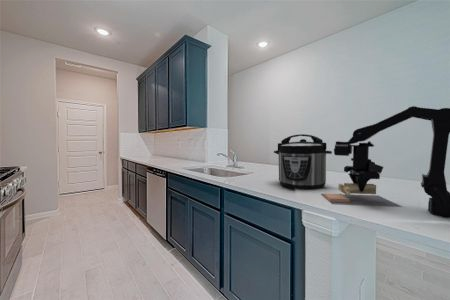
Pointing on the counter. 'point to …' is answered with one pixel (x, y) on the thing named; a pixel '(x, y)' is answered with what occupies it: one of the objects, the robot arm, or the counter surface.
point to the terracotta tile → (336, 197)
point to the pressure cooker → (302, 163)
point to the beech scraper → (356, 188)
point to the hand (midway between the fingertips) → (359, 190)
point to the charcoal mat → (366, 201)
